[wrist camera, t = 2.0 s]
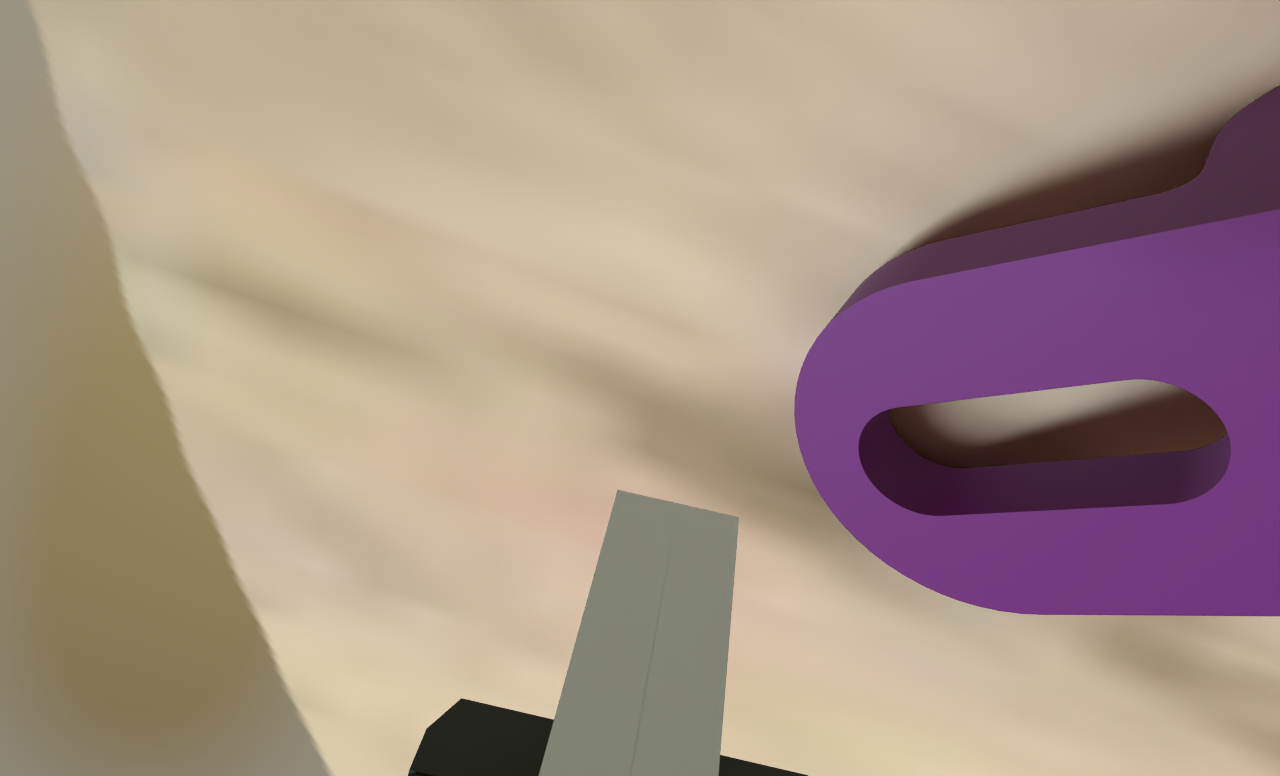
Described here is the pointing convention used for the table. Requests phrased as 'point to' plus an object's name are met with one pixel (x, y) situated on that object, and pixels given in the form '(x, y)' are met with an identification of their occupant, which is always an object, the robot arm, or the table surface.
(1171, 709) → the table surface
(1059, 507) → the mounting bracket
